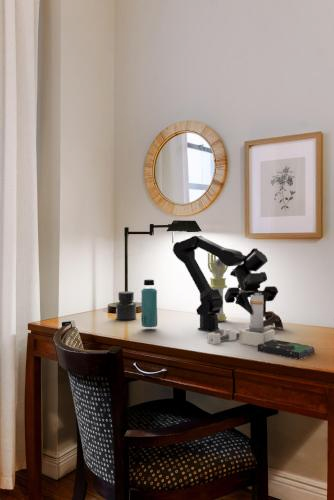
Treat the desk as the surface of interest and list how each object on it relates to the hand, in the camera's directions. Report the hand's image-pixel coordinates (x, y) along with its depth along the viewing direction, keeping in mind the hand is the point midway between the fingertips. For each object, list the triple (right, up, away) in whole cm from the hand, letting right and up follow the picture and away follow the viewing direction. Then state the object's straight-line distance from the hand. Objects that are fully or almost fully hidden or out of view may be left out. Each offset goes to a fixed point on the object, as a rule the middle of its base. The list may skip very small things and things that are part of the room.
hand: (258, 313), depth 151 cm
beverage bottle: (-39, -10, +24) cm, 46 cm away
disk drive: (+6, -11, -11) cm, 17 cm away
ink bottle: (-50, -9, +47) cm, 69 cm away
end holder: (0, -10, +2) cm, 10 cm away
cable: (-6, -10, +5) cm, 13 cm away
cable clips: (-8, -10, +6) cm, 15 cm away
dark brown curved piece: (+10, -10, +24) cm, 28 cm away
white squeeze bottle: (0, -7, +2) cm, 7 cm away
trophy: (-9, -9, +42) cm, 44 cm away
